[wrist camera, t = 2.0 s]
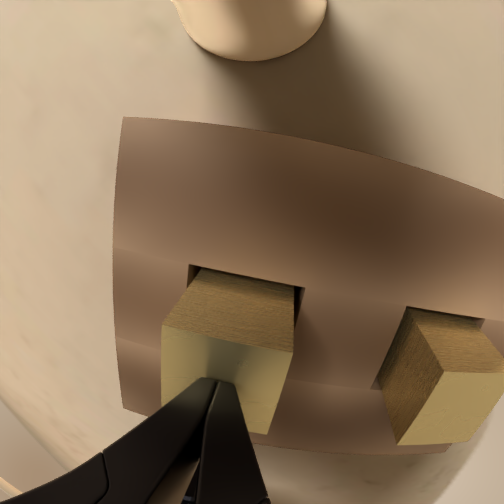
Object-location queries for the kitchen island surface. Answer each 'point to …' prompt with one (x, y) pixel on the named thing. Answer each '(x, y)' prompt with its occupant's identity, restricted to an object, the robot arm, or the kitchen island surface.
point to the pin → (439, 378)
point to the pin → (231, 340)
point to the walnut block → (298, 263)
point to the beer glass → (251, 25)
